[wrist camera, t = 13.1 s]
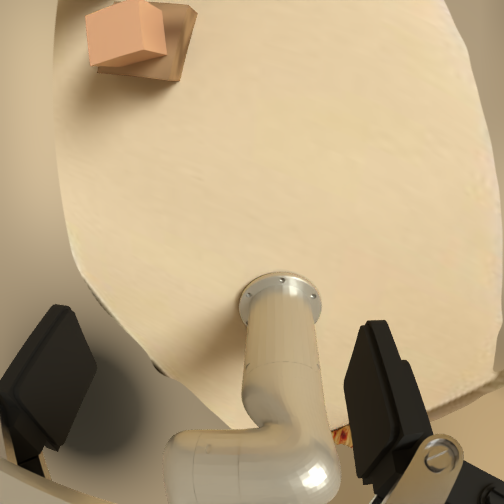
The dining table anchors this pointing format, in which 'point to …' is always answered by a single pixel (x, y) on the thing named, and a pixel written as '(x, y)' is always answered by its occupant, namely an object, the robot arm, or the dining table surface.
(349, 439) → the croissant
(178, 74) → the walnut block
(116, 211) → the dining table surface
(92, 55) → the peach matte cube
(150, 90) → the dining table surface
